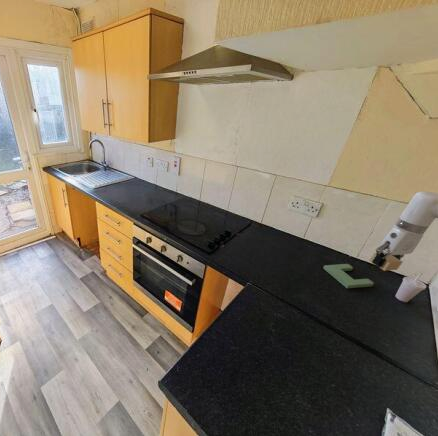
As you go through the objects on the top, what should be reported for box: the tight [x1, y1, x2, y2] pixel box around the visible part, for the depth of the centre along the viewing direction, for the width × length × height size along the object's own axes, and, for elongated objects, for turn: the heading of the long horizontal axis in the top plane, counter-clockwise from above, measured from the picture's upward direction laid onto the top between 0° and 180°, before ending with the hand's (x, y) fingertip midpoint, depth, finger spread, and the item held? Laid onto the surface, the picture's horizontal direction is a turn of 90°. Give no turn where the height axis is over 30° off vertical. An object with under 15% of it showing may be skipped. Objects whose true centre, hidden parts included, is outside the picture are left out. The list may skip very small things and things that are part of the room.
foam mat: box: [322, 263, 375, 289], centre depth 105 cm, size 13×13×2 cm
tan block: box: [368, 251, 404, 272], centre depth 89 cm, size 6×6×4 cm
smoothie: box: [394, 272, 427, 303], centre depth 91 cm, size 6×6×14 cm
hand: (383, 263), depth 90 cm, fingers closed on tan block, 6 cm apart
